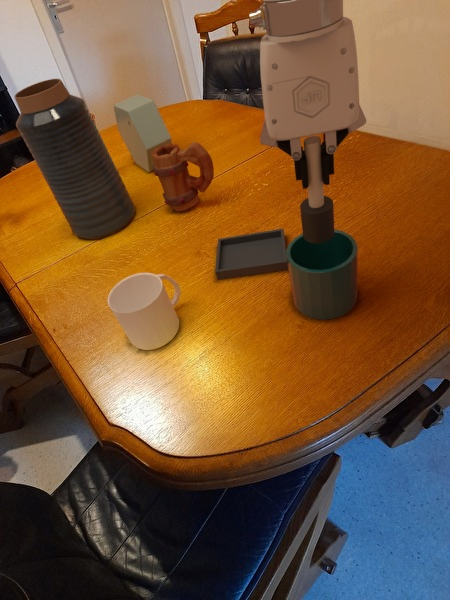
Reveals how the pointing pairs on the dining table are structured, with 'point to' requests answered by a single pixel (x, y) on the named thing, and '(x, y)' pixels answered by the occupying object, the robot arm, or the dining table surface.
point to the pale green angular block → (141, 129)
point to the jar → (323, 275)
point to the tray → (251, 254)
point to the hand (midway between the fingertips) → (314, 180)
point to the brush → (316, 198)
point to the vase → (73, 159)
